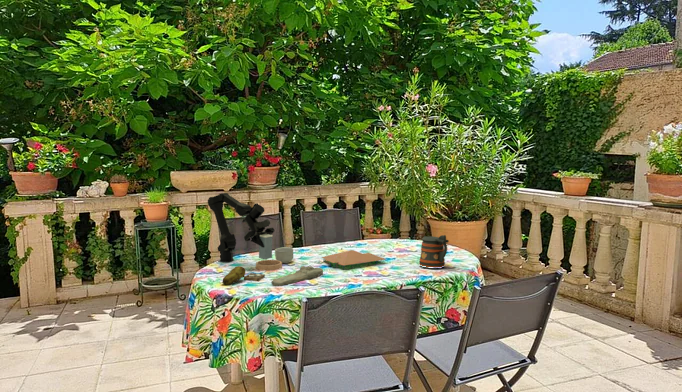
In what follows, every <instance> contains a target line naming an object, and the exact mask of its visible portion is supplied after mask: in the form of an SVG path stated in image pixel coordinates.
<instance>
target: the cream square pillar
mask: <svg viewBox="0 0 682 392" xmlns="http://www.w3.org/2000/svg"><path fill="white" fill-rule="evenodd" d="M273 236H274V235H273V234H272V235H269V234H263V235H260V239H261V241H262V242H263V244H264V248H263V247H261V246H259V245H258V258H259V259H261V260H270V259H272V258H273Z"/></svg>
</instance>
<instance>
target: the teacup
mask: <svg viewBox="0 0 682 392" xmlns="http://www.w3.org/2000/svg"><path fill="white" fill-rule="evenodd" d="M274 255H275V260H278V261H281V262H282V264H288V263H291V262H292V261H293V259H294V248H293V247H289V246H288V247H287V246H284V247H278V248H275V249H274Z"/></svg>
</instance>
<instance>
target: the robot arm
mask: <svg viewBox="0 0 682 392" xmlns="http://www.w3.org/2000/svg"><path fill="white" fill-rule="evenodd" d="M224 203H226V204H227V205H229V206H230V207H231V208H232V209H234V210H235V212H236V214H237V215H238V216H239V217H242V223H246V224H247V226H248V231H247V232H246V234H245V235H244V237H243V238H244V240H245V242H249V241H250V242H251V243H254V244H257V245H258V247H259V246H261V247H263V248H264V244H263V242H262V241H261V239H260V235H263V234H269V235H273V234H274V232H275V228H274V227H270V225H271V222H270V220H269V219H268V218H267V219H264V220H263V221H262V220H261V221H259V220H258V219H259V218H260V217H261V216H262V215H263V214H264V212H265V208H264V206H262V205H260V204H258V203H257V202H256V203H254V204H253V206H252V205H250V204H247V203H244V202H241V201H239V200H238V199H236V198H234V197H233V196H231V195H230V194H229V193H227V192H223V193H219V194H217V195H214V196H210V197H208V199H207V205H208V207H209V209H210V210H211V211H212V212H213V213H214V216H215V220H216V222H217V225H218V230H219V233H220V238H219V241H220V244H219V245H218V246H217V252H219V255H220V257H219V260H218V262H220V263H221V262H222V263H231V262H233V261H235V259H234V253H233V251H234V250H235V249H236V245H237V239H236V236H235V234H234V233H233V234H232V233H231V232H230V229H229V227H228V223H227V220H226V217H225V214H224V213H225V212H224V210H223V208H224ZM244 216H245V217H244Z"/></svg>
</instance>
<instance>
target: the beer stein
mask: <svg viewBox="0 0 682 392" xmlns="http://www.w3.org/2000/svg"><path fill="white" fill-rule="evenodd" d="M421 240H422V242H421V246H420V251H421V252H420V257H419V262H418V263H419V264H420V265H422V266H426V267H442V266H444V265H445V266H446V264H445V263H446V262H445V260H446V259H445V258H446V256H447V252H448V245H447V243H449V239H447V236H446V234H444V235H440V236H432V235H431V236H426V235H424V236H423V237H422V238H421ZM419 264H418V265H419Z"/></svg>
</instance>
